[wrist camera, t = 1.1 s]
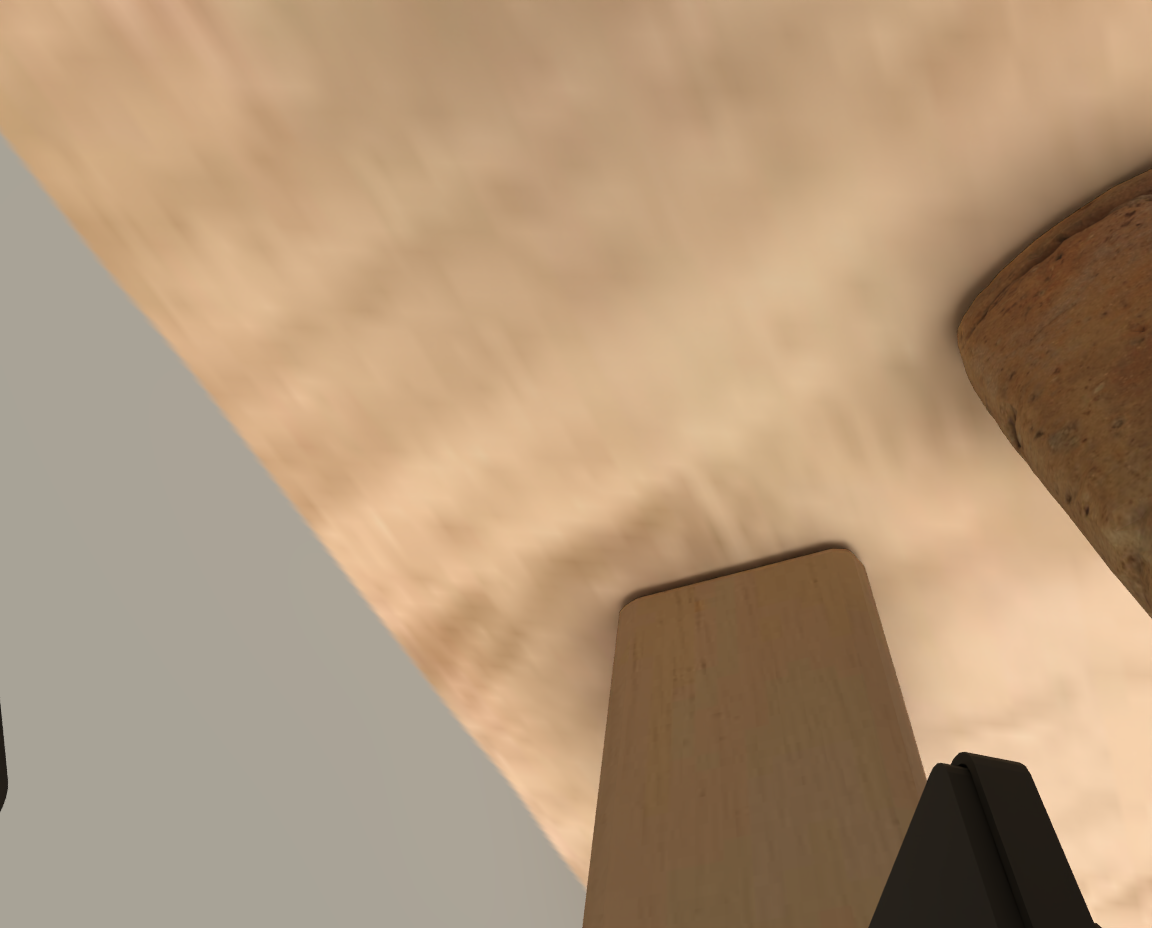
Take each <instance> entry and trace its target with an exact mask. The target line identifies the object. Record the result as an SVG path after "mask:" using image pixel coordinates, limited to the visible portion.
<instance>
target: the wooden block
mask: <svg viewBox="0 0 1152 928" xmlns="http://www.w3.org/2000/svg"><path fill="white" fill-rule="evenodd" d="M926 783H927V779H926V776H925V772H924V769H923V765H922V762H921V758H920V755H919V751H918V748H917V744H916V741H915V737H914V734H913V731H912V727H911V724H910V720H909V717H908V713H907V710H906V707H905V703H904V700H903V696H902V693H901V689H900V686H899V683H898V679H897V676H896V672H895V669H894V666H893V662H892V659H891V655H890V652H889V648H888V645H887V642H886V638H885V635H884V631H883V628H882V624H881V621H880V618H879V614H878V611H877V607H876V604H875V601H874V597H873V594H872V590H871V587H870V583H869V580H868V577H867V573H866V570H865V567H864V565H863V564H862V563H861V562H860V561H859V560H858V559H857V558H856V557H855V555H854V554H853V553H852V552H850V551H849V550H848V549H828V550H825V551H821V552H817V553H813V554H809V555H805V556H801V557H797V558H793V559H789V560H785V561H781V562H777V563H774V564H770V565H766V566H762V567H758V568H754V569H750V570H746V571H742V572H738V573H734V574H730V575H727V576H723V577H719V578H715V579H711V580H707V581H703V582H699V583H695V584H691V585H687V586H683V587H679V588H676V589H672V590H668V591H664V592H660V593H656V594H652V595H648V596H644V597H640V598H637V599H635V600H634V601H632V602H630V603H629V604H627V605H626V606H624V607H623V609H622V610H621V611H620V614H619V622H618V631H617V639H616V648H615V656H614V665H613V673H612V682H611V690H610V699H609V707H608V715H607V724H606V732H605V741H604V749H603V758H602V766H601V775H600V783H599V792H598V800H597V809H596V817H595V826H594V834H593V843H592V851H591V859H590V868H589V876H588V885H587V893H586V902H585V910H584V919H583V927H582V928H868V927H869V924H870V922H871V919H872V917H873V915H874V912H875V910H876V907H877V905H878V902H879V900H880V897H881V895H882V892H883V890H884V887H885V885H886V882H887V880H888V877H889V875H890V872H891V870H892V867H893V865H894V862H895V860H896V857H897V855H898V852H899V850H900V847H901V845H902V842H903V840H904V837H905V835H906V832H907V830H908V827H909V825H910V823H911V820H912V818H913V815H914V813H915V810H916V808H917V805H918V803H919V800H920V798H921V795H922V793H923V790H924V788H925V785H926Z"/></svg>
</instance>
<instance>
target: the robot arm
mask: <svg viewBox="0 0 1152 928" xmlns="http://www.w3.org/2000/svg"><path fill="white" fill-rule="evenodd" d="M7 789H8V777H7V766H6V756H5V746H4V736H3V726H2V716H1V705H0V811H1V809H2V807H3V804H4V801H5V799H6V795H7ZM868 928H1102V927H1100V926H1099V925H1098V924H1097V923H1094V922H1093V919H1092V917H1091V915H1090V912H1089V910H1088V908H1087V905H1086V903H1085V901H1084V898H1083V896H1082V894H1081V891H1080V889H1079V887H1078V884H1077V882H1076V880H1075V877H1074V875H1073V873H1072V870H1071V868H1070V866H1069V863H1068V861H1067V859H1066V856H1065V854H1064V851H1063V849H1062V847H1061V844H1060V842H1059V840H1058V837H1057V835H1056V833H1055V830H1054V828H1053V826H1052V823H1051V821H1050V819H1049V816H1048V814H1047V812H1046V809H1045V807H1044V805H1043V802H1042V800H1041V798H1040V795H1039V793H1038V790H1037V788H1036V786H1035V783H1034V781H1033V779H1032V776H1031V774H1030V772H1029V771H1028V769H1027V768H1026V766H1024V765H1023V764H1021V763H1019V762H1014V761H1009V760H1004V759H999V758H993V757H988V756H983V755H978V754H973V753H968V752H962V753H959V754H958V755H957V756H956V757H955V758H954V759H953V761H952V763H951V765H949V764H944V763H938V764H936V765H935V766H934V767H933V769H932V771H931V773H930V775H929V778H928V780H927V783H926V785H925V788H924V790H923V793H922V795H921V798H920V800H919V803H918V805H917V808H916V810H915V813H914V815H913V818H912V820H911V823H910V825H909V827H908V830H907V832H906V835H905V837H904V840H903V842H902V845H901V847H900V850H899V852H898V855H897V857H896V860H895V862H894V865H893V867H892V870H891V872H890V875H889V877H888V880H887V882H886V885H885V887H884V890H883V892H882V895H881V897H880V900H879V902H878V905H877V907H876V910H875V912H874V915H873V917H872V919H871V922H870V924H869V927H868Z"/></svg>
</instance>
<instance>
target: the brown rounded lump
mask: <svg viewBox="0 0 1152 928" xmlns="http://www.w3.org/2000/svg"><path fill="white" fill-rule="evenodd" d="M957 337H958V347H959V350H960V354H961V357H962V360H963V363H964V367H965V370H966V373H967V375H968V378H969V380H970V382H971V384H972V386H973V388H974V390H975V392H976V393H977V395H978V396H979V398H980V399H981V401H982V402H983V404H984V406H985V407H986V409H987V410H988V412H989V413H990V414H991V415H992V417H993V418H994V419H995V420H996V422H997V424H998V425H999V427H1000V429H1001V430H1002V432H1003V433H1004V434H1005V436H1006V437H1007V439H1008V440H1009V441H1010V443H1011V444H1012V446H1013V447H1014V448H1015V450H1016V451H1017V452H1018V453H1019V454H1020V455H1021V457H1022V458H1023V459H1024V460H1025V461H1026V462H1027V463H1028V465H1029V466H1030V468H1031V469H1032V471H1033V473H1034V474H1035V475H1036V476H1037V477H1038V478H1039V479H1040V481H1041V482H1042V483H1043V485H1044V486H1045V487H1046V489H1047V490H1048V491H1049V492H1050V494H1051V495H1052V496H1053V497H1054V498H1055V500H1056V501H1057V502H1058V503H1059V504H1060V505H1061V507H1062V508H1063V509H1064V510H1065V512H1066V513H1067V514H1068V515H1069V517H1070V518H1071V519H1072V521H1073V522H1074V523H1075V524H1076V526H1077V527H1078V528H1079V530H1080V531H1081V532H1082V533H1083V535H1084V536H1085V537H1086V539H1087V540H1088V541H1089V542H1090V544H1091V545H1092V546H1093V548H1094V549H1095V550H1096V552H1097V553H1098V554H1099V555H1100V557H1101V558H1102V559H1103V561H1104V562H1105V563H1106V565H1107V566H1108V567H1109V568H1110V570H1111V571H1112V572H1113V573H1114V574H1115V576H1116V577H1117V578H1118V579H1119V580H1120V581H1121V583H1122V584H1123V585H1124V586H1125V587H1126V588H1127V590H1128V591H1129V592H1130V593H1131V594H1132V596H1133V597H1134V598H1135V599H1136V600H1137V602H1138V603H1139V604H1140V605H1141V606H1142V607H1143V609H1144V610H1145V611H1146V612H1147V613H1148V615H1149V616H1150V617H1151V618H1152V169H1150V170H1148V171H1146V172H1144V173H1142V174H1140V175H1138V176H1136V177H1134V178H1132V179H1130V180H1127V181H1125V182H1123V183H1121V184H1119V185H1117V186H1115V187H1113V188H1111V189H1110V190H1108V191H1107V192H1105V193H1104V194H1102V195H1101V196H1099V197H1097V198H1096V199H1094V200H1093V201H1091V202H1090V203H1088V204H1087V205H1085V206H1083V207H1082V208H1080V209H1079V210H1077V211H1076V212H1074V213H1073V214H1072V215H1070V216H1069V217H1067V218H1066V219H1064V220H1063V221H1061V222H1060V223H1059V224H1057V225H1056V226H1054V227H1053V228H1051V229H1050V230H1049V231H1047V232H1046V233H1045V234H1043V235H1042V236H1041V237H1039V238H1038V239H1036V240H1035V241H1034V242H1033V243H1032V244H1031V245H1030V246H1028V247H1027V248H1026V249H1025V250H1024V251H1023V252H1022V253H1021V254H1019V255H1018V256H1017V257H1016V258H1015V259H1014V260H1013V261H1012V262H1010V263H1009V264H1008V265H1007V266H1006V267H1005V268H1004V269H1003V270H1002V271H1000V272H999V273H998V275H997V276H996V277H995V278H994V280H993V281H992V282H991V283H990V284H989V286H988V287H987V288H985V289H984V290H983V291H982V292H981V293H980V294H978V296H977V297H976V299H975V300H974V302H973V303H972V304H971V306H970V307H969V309H968V310H967V312H966V313H965V315H964V316H963V319H962V321H961V323H960V326H959V328H958V330H957Z"/></svg>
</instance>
